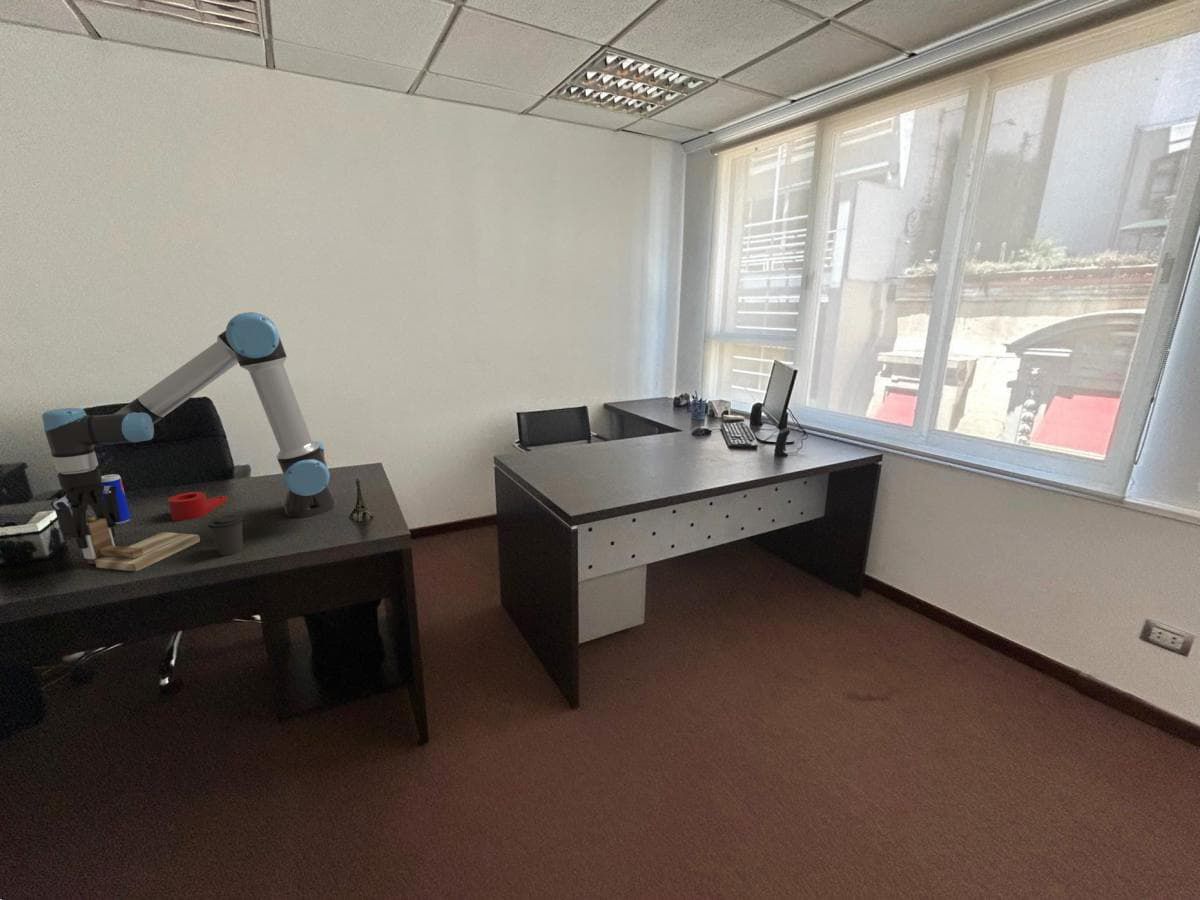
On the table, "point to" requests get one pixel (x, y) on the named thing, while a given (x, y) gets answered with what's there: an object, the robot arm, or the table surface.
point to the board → (150, 551)
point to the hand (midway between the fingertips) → (100, 554)
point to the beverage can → (118, 496)
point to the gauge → (106, 541)
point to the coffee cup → (227, 534)
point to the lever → (193, 505)
